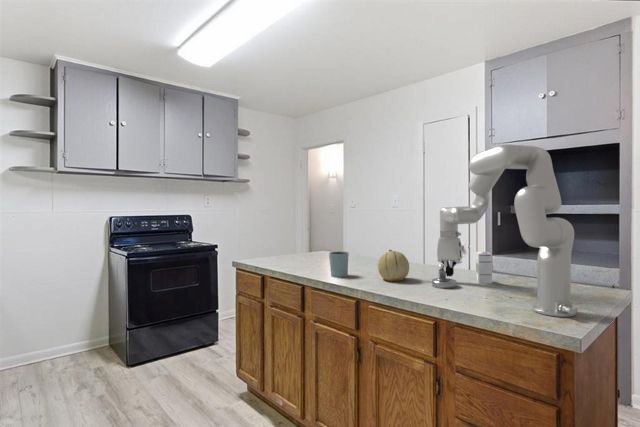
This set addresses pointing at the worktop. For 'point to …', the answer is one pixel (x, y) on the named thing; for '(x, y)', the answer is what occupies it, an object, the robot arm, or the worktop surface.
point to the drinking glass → (339, 264)
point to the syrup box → (484, 267)
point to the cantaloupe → (393, 266)
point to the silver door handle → (443, 280)
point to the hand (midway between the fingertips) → (449, 275)
